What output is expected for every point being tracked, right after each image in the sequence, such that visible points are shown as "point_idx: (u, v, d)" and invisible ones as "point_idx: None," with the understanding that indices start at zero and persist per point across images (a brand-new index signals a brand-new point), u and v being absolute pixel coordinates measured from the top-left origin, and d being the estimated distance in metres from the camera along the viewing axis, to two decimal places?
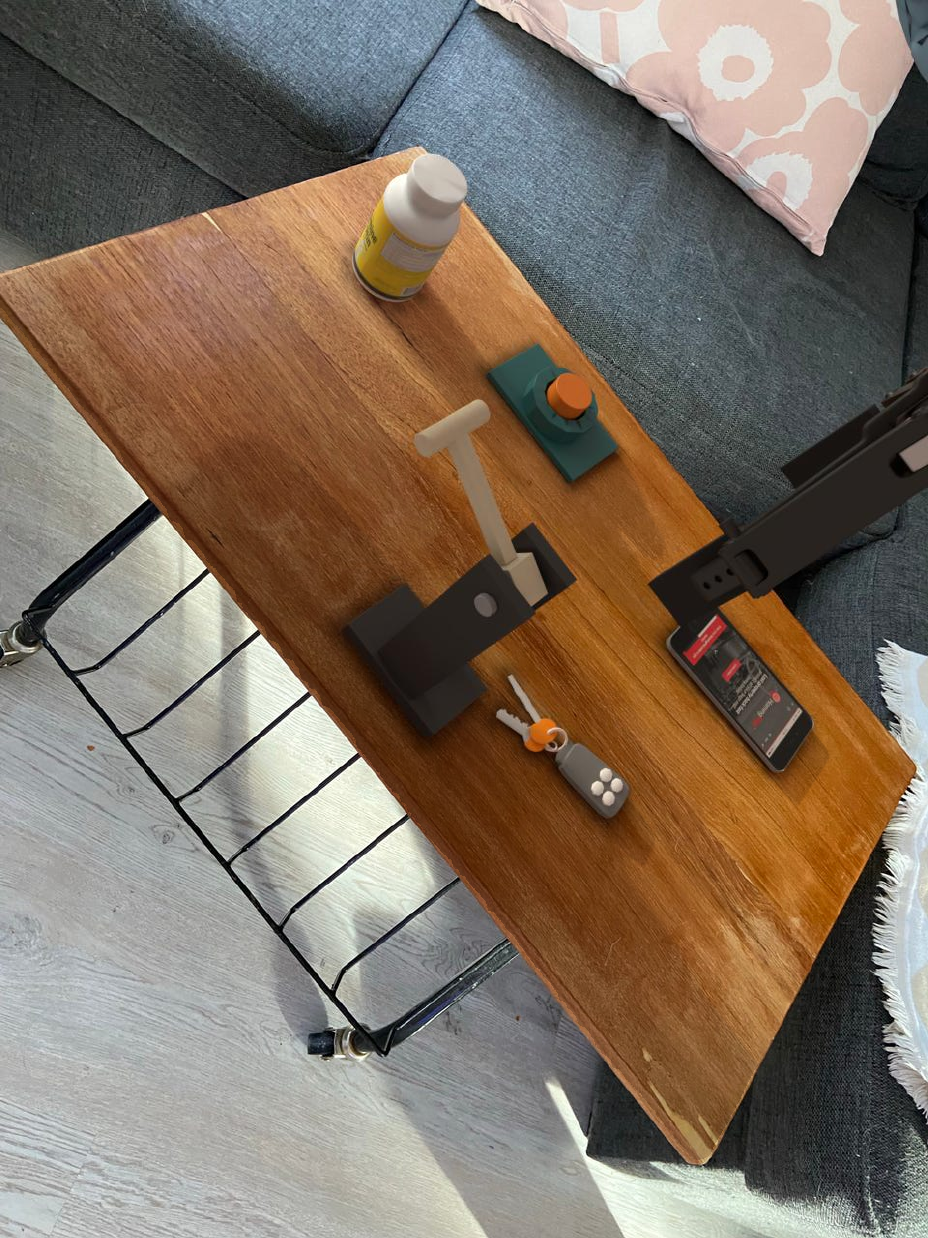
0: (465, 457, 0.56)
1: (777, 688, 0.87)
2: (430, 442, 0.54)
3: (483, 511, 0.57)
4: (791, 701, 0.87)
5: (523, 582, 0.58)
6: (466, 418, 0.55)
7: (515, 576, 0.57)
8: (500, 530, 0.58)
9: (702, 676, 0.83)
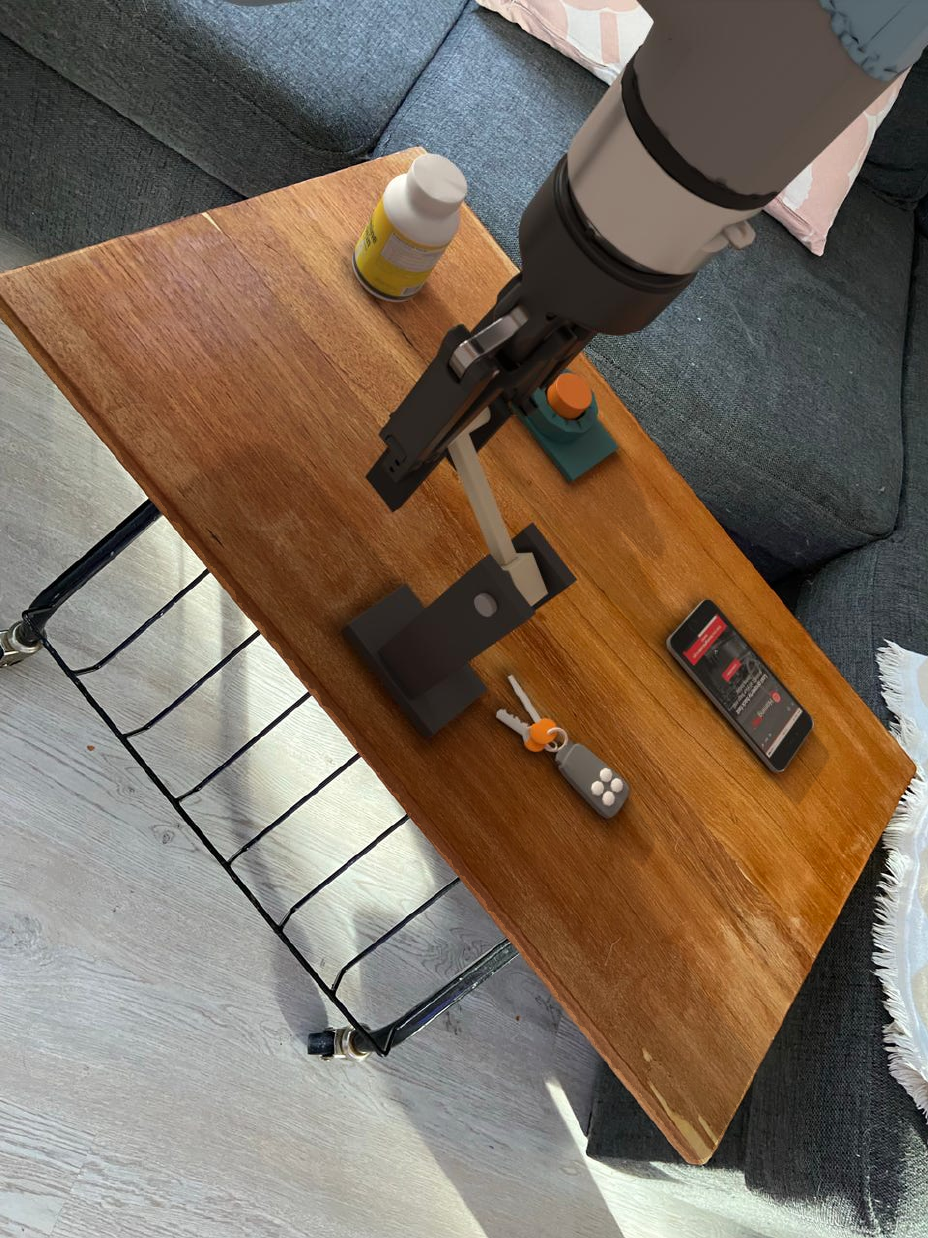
0: (465, 457, 0.56)
1: (777, 688, 0.87)
2: None
3: (483, 511, 0.57)
4: (791, 701, 0.87)
5: (523, 582, 0.58)
6: None
7: (515, 576, 0.57)
8: (500, 530, 0.58)
9: (702, 676, 0.83)
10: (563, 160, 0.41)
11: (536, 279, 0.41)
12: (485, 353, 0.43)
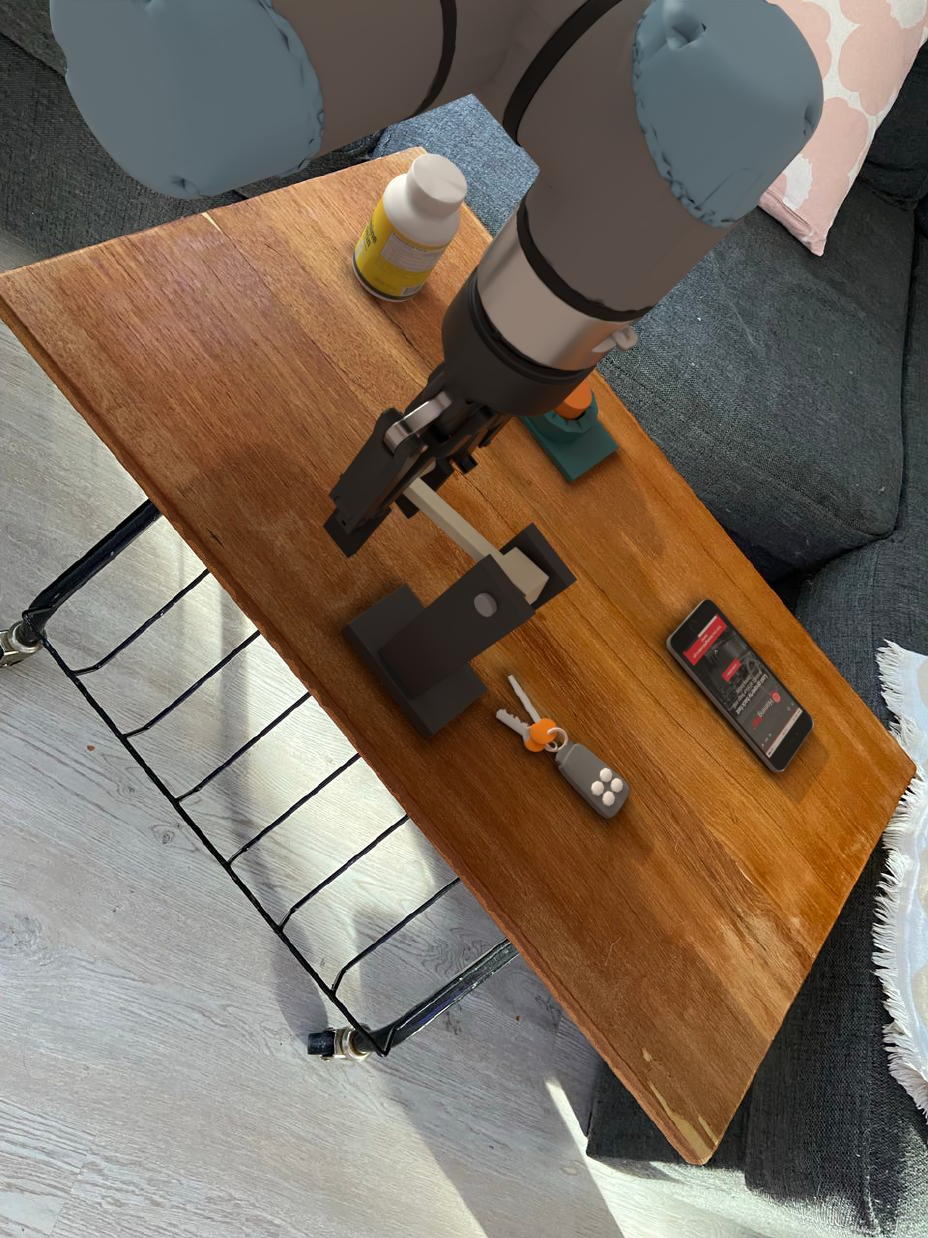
0: (417, 491, 0.60)
1: (777, 688, 0.87)
2: None
3: (452, 528, 0.60)
4: (791, 701, 0.87)
5: (514, 571, 0.58)
6: None
7: (502, 568, 0.58)
8: (477, 539, 0.60)
9: (702, 676, 0.83)
10: (477, 269, 0.47)
11: (455, 370, 0.48)
12: (413, 433, 0.49)
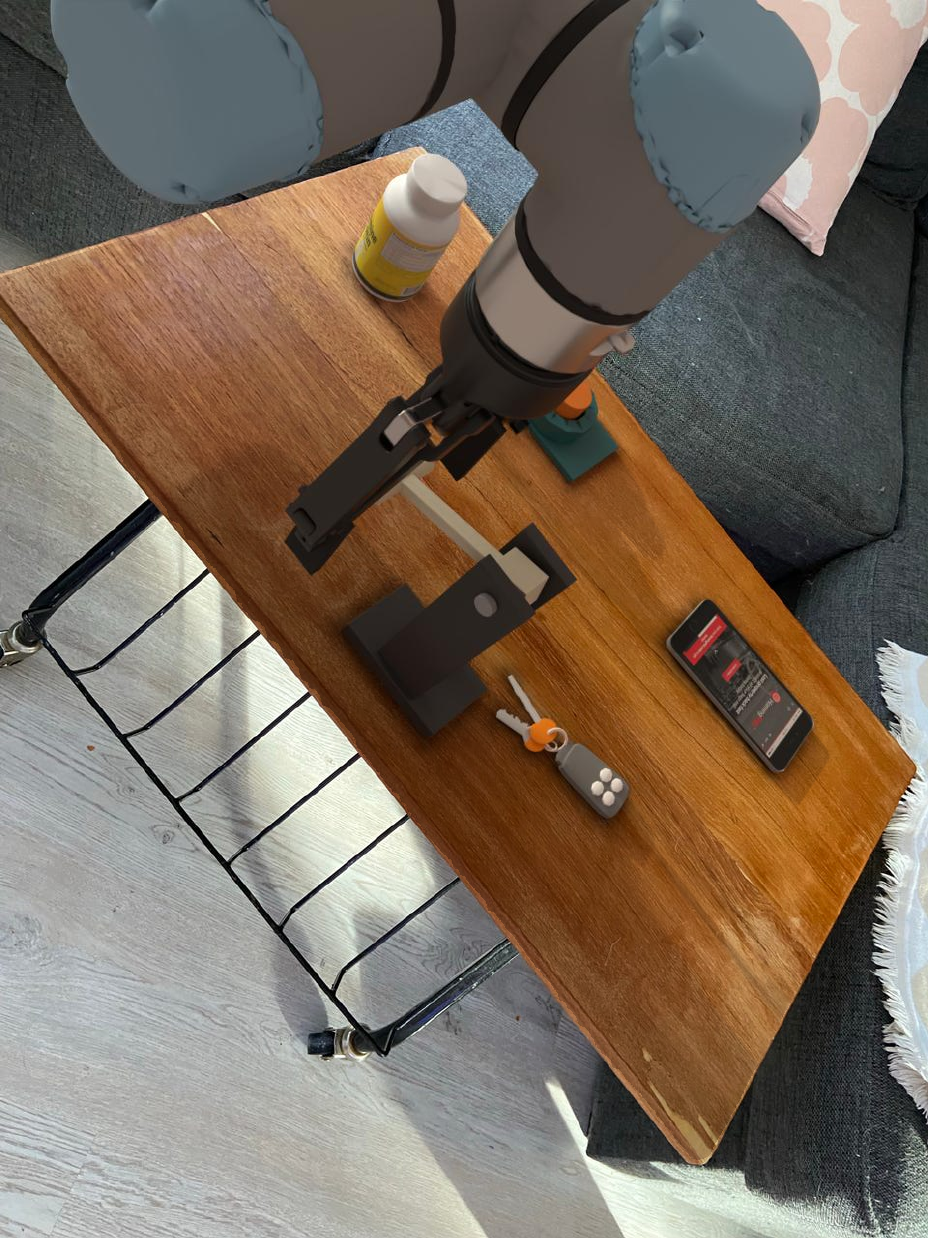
0: (416, 492, 0.61)
1: (777, 688, 0.87)
2: None
3: (452, 529, 0.60)
4: (791, 701, 0.87)
5: (514, 571, 0.58)
6: None
7: None
8: (476, 539, 0.60)
9: (702, 676, 0.83)
10: (476, 272, 0.47)
11: (453, 373, 0.48)
12: (422, 422, 0.48)
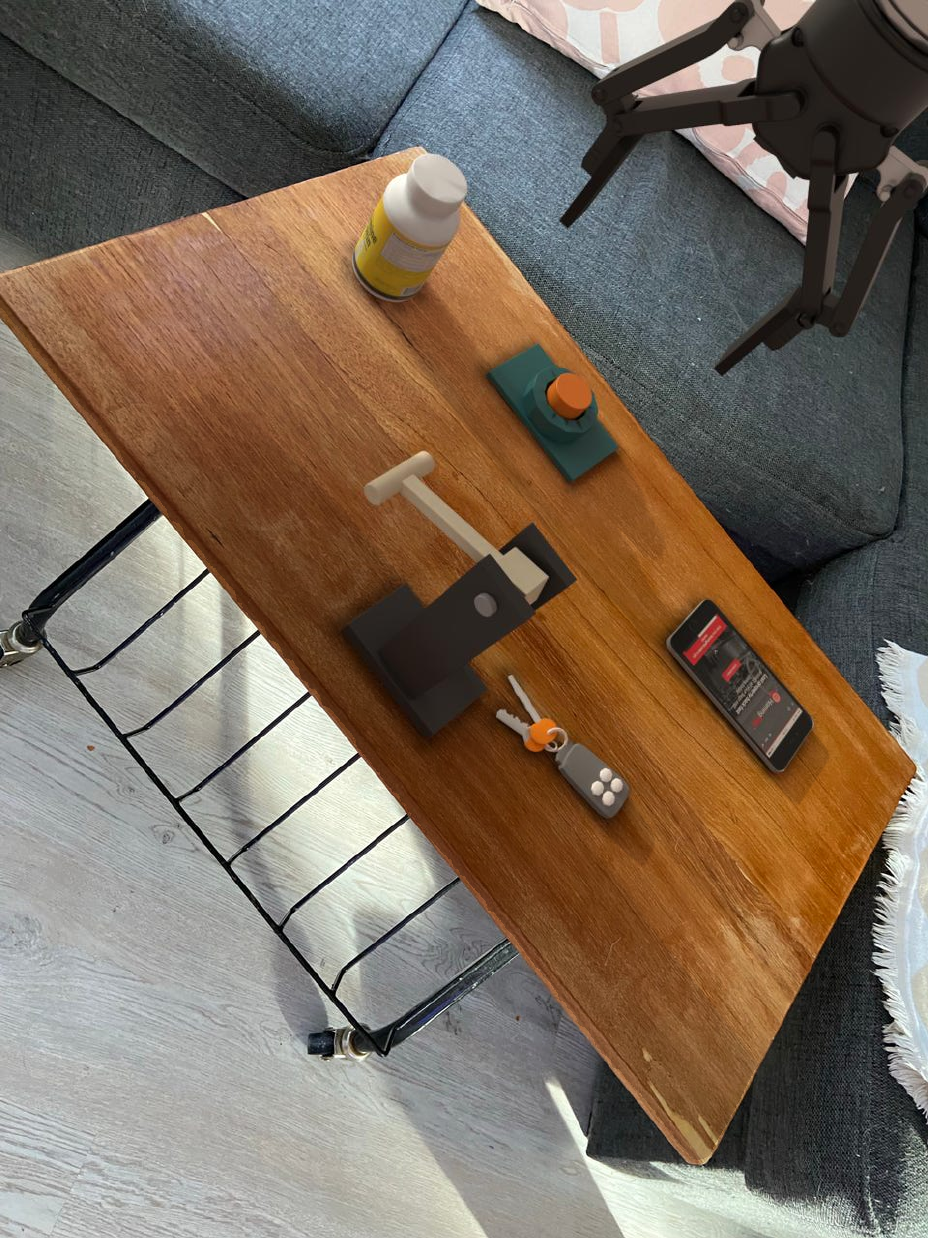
0: (416, 492, 0.61)
1: (777, 688, 0.87)
2: (373, 486, 0.60)
3: (452, 529, 0.60)
4: (791, 701, 0.87)
5: (514, 571, 0.58)
6: (406, 463, 0.61)
7: None
8: (476, 539, 0.60)
9: (702, 676, 0.83)
10: None
11: None
12: (753, 11, 0.49)
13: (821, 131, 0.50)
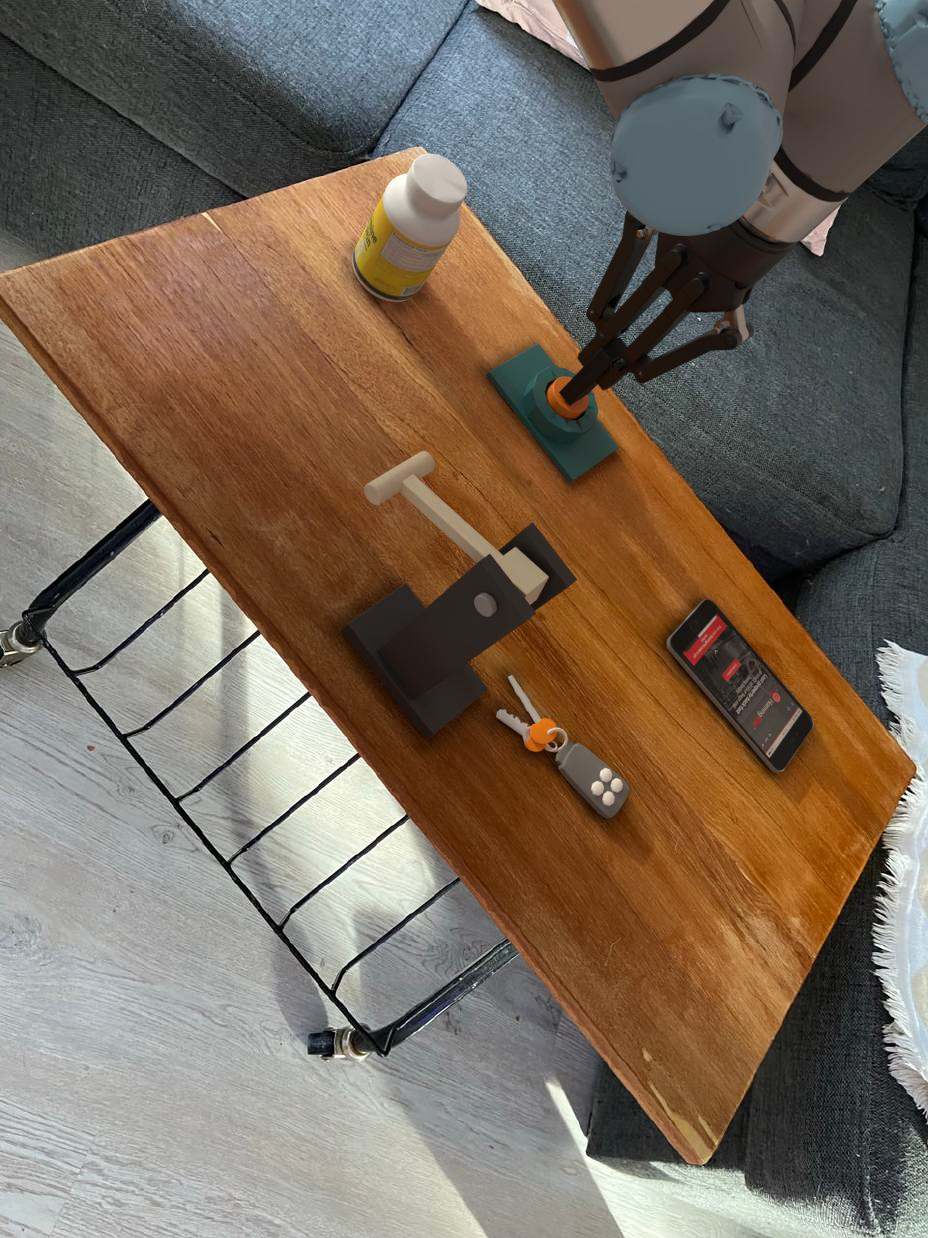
0: (416, 492, 0.61)
1: (777, 688, 0.87)
2: (373, 486, 0.60)
3: (452, 529, 0.60)
4: (791, 701, 0.87)
5: (514, 571, 0.58)
6: (406, 463, 0.61)
7: None
8: (476, 539, 0.60)
9: (702, 676, 0.83)
10: None
11: None
12: None
13: (699, 279, 0.69)
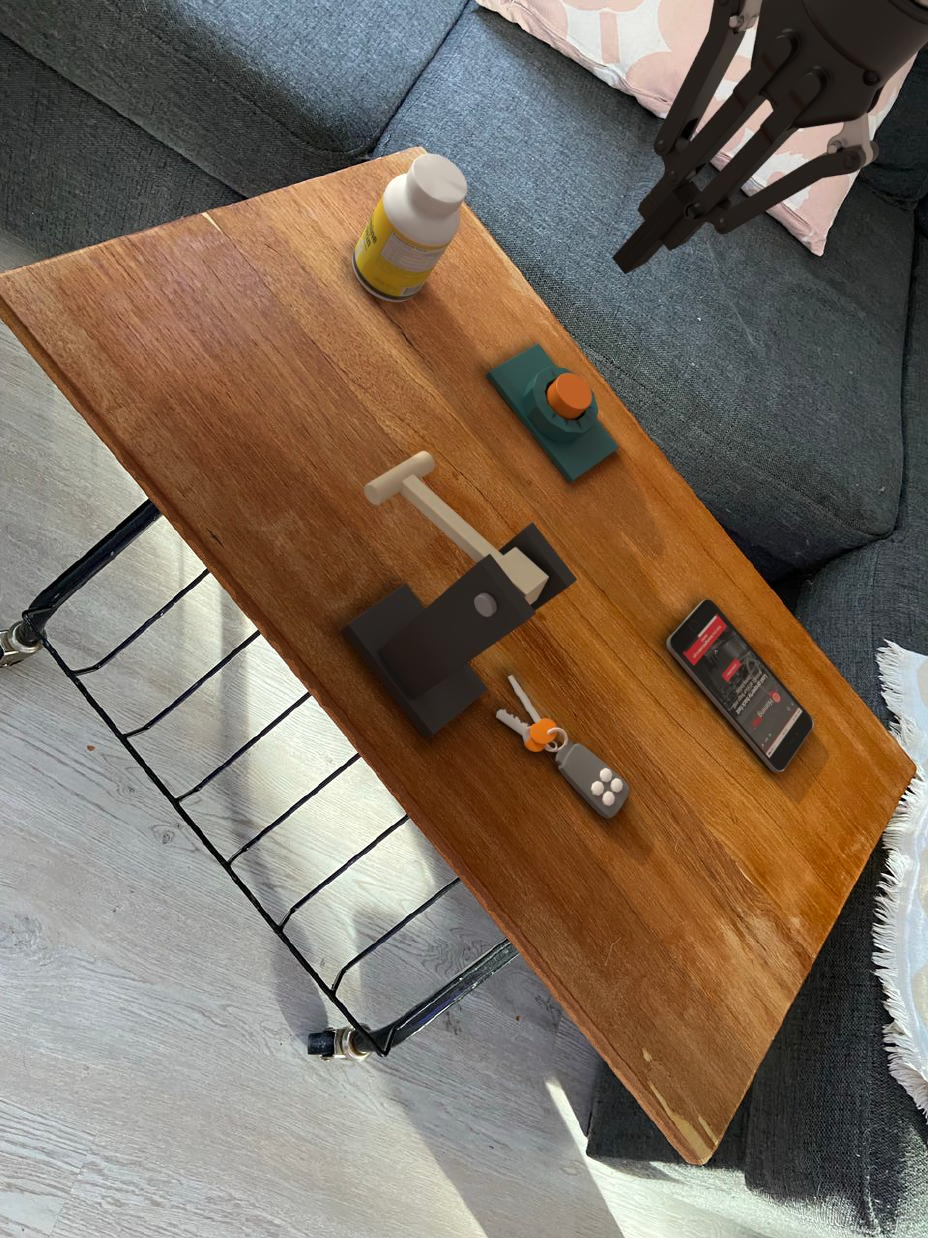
0: (416, 492, 0.61)
1: (777, 688, 0.87)
2: (373, 486, 0.60)
3: (452, 529, 0.60)
4: (791, 701, 0.87)
5: (514, 571, 0.58)
6: (406, 463, 0.61)
7: None
8: (476, 539, 0.60)
9: (702, 676, 0.83)
10: None
11: None
12: None
13: (815, 74, 0.53)
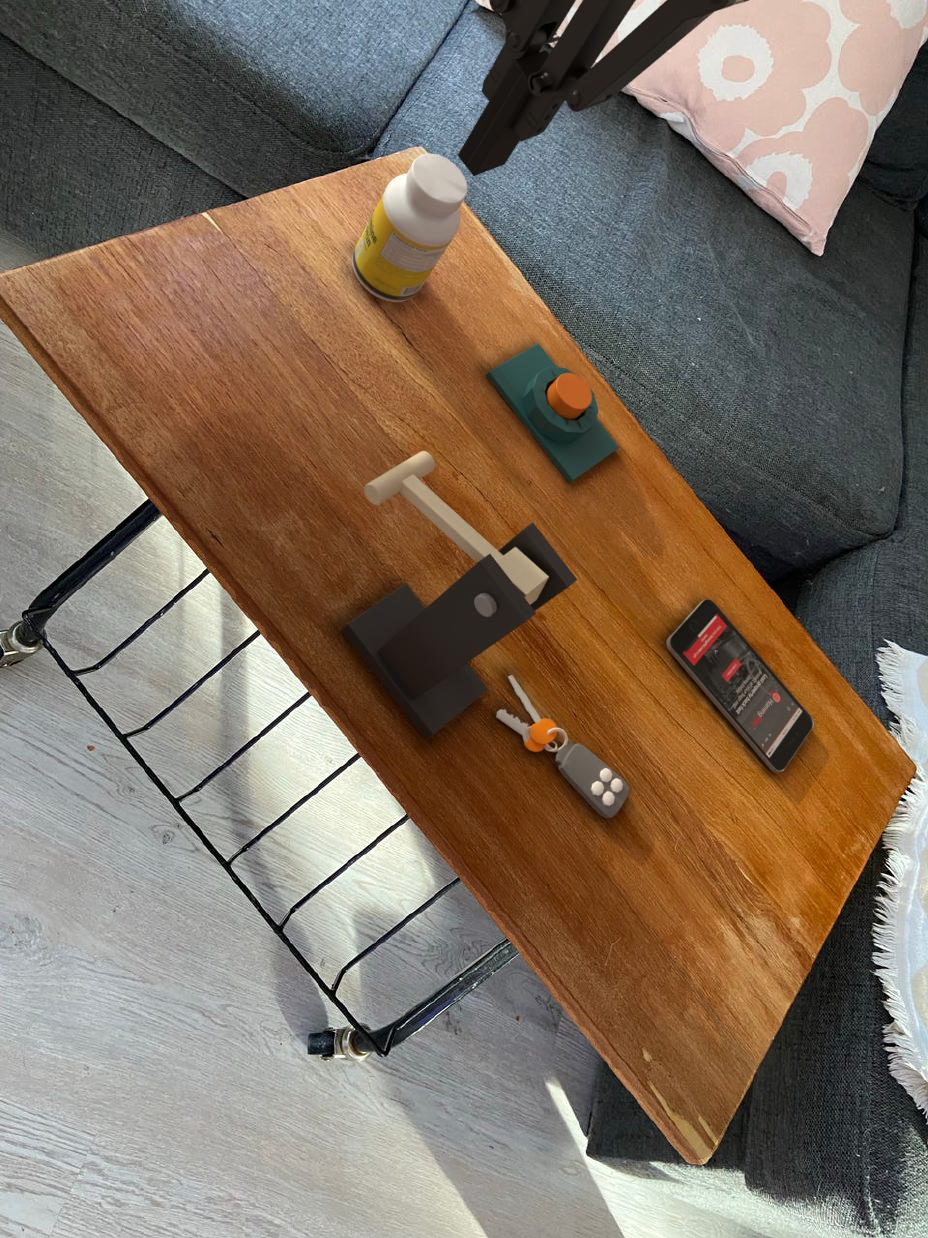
0: (416, 492, 0.61)
1: (777, 688, 0.87)
2: (373, 486, 0.60)
3: (452, 529, 0.60)
4: (791, 701, 0.87)
5: (514, 571, 0.58)
6: (406, 463, 0.61)
7: None
8: (476, 539, 0.60)
9: (702, 676, 0.83)
10: None
11: None
12: None
13: None
